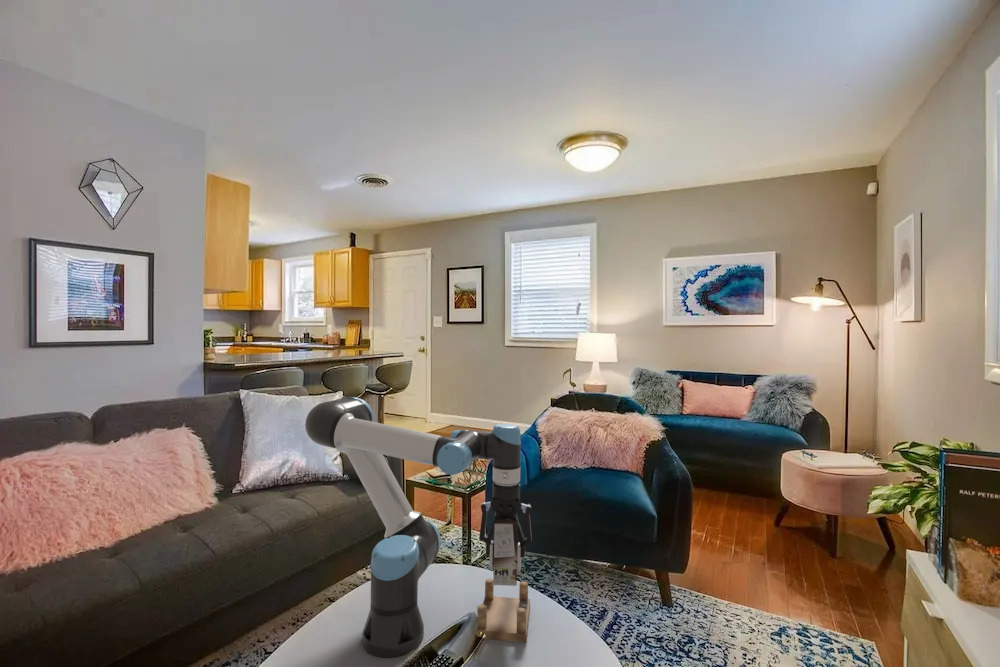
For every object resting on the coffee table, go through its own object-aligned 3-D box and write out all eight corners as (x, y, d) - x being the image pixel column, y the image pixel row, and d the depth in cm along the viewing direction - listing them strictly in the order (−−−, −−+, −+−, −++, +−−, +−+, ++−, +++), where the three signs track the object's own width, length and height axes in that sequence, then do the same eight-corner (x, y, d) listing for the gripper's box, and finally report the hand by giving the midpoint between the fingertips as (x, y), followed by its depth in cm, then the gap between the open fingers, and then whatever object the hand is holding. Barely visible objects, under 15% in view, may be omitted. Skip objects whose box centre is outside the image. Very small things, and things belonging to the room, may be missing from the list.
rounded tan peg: (527, 607, 126) (528, 591, 126) (519, 607, 127) (519, 590, 127) (527, 597, 131) (528, 581, 131) (519, 597, 132) (519, 581, 132)
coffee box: (517, 586, 120) (518, 523, 120) (492, 585, 120) (493, 523, 120) (516, 569, 129) (517, 511, 129) (493, 568, 129) (494, 510, 129)
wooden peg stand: (475, 637, 117) (475, 609, 117) (484, 602, 133) (485, 578, 133) (526, 642, 116) (526, 614, 116) (529, 606, 131) (530, 581, 132)
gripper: (468, 484, 122) (466, 572, 122) (542, 488, 120) (541, 577, 120) (473, 476, 130) (471, 558, 129) (543, 479, 128) (542, 563, 127)
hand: (505, 567), depth 125 cm, fingers closed on coffee box, 7 cm apart
